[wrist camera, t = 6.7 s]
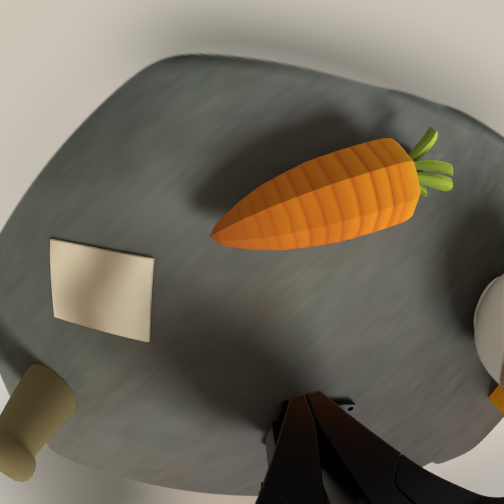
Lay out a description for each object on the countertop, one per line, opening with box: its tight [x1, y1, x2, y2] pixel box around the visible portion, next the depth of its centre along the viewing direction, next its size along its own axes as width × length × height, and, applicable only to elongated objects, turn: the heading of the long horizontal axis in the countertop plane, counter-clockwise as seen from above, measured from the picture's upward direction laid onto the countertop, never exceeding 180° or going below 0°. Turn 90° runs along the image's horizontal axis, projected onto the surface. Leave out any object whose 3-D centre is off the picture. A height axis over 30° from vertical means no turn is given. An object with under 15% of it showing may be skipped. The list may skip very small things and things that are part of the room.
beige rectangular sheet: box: [50, 239, 154, 342], centre depth 17 cm, size 8×6×1 cm
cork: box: [0, 364, 77, 482], centre depth 14 cm, size 6×6×11 cm
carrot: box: [210, 127, 453, 250], centre depth 15 cm, size 5×5×15 cm
